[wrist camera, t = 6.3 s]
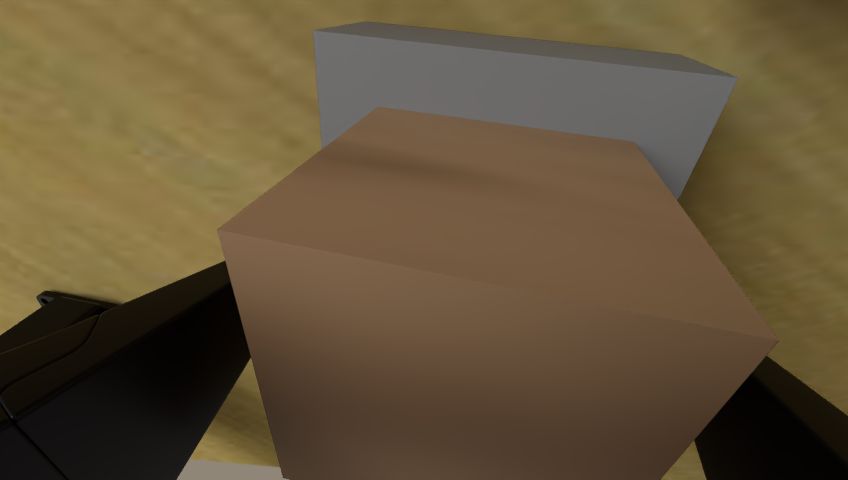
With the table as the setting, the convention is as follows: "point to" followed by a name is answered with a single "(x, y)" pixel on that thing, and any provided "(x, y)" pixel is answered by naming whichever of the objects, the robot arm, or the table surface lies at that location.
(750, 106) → the table surface
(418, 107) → the base block
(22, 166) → the table surface
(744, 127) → the table surface
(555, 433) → the walnut cube
